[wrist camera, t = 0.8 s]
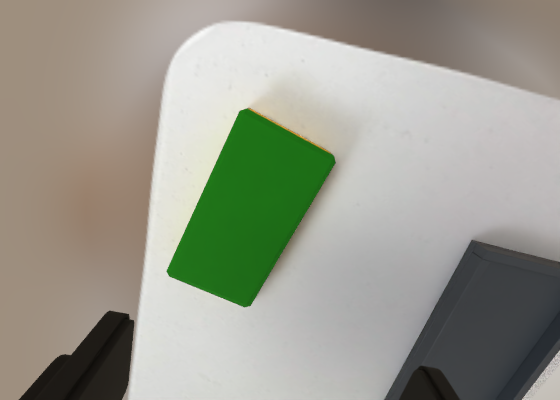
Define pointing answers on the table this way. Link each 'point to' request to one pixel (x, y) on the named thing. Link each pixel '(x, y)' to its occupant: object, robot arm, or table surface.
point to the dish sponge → (249, 208)
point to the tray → (491, 325)
